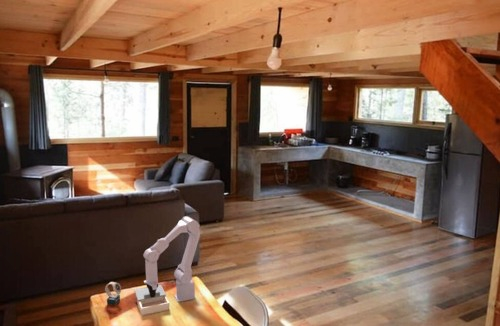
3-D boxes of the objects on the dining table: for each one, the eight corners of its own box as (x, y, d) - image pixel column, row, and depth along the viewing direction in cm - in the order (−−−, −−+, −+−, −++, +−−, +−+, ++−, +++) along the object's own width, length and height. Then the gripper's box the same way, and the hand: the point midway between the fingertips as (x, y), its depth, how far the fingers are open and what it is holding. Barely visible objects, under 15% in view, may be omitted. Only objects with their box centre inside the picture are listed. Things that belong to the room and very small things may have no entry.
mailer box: (164, 299, 221) (164, 292, 220) (169, 310, 210) (169, 302, 209) (137, 304, 215) (137, 297, 214) (141, 316, 204) (141, 308, 204)
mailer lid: (161, 285, 228) (160, 281, 227) (166, 295, 216) (166, 291, 216) (134, 290, 222) (134, 286, 221) (138, 300, 211) (137, 296, 210)
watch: (118, 305, 214) (117, 285, 213) (104, 304, 216) (102, 284, 214) (123, 300, 220) (122, 281, 218) (109, 299, 221) (108, 279, 219)
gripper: (141, 268, 215) (142, 292, 218) (146, 279, 202) (147, 304, 205) (154, 265, 218) (155, 289, 220) (160, 276, 205) (161, 302, 207)
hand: (152, 296), depth 213 cm, fingers closed
